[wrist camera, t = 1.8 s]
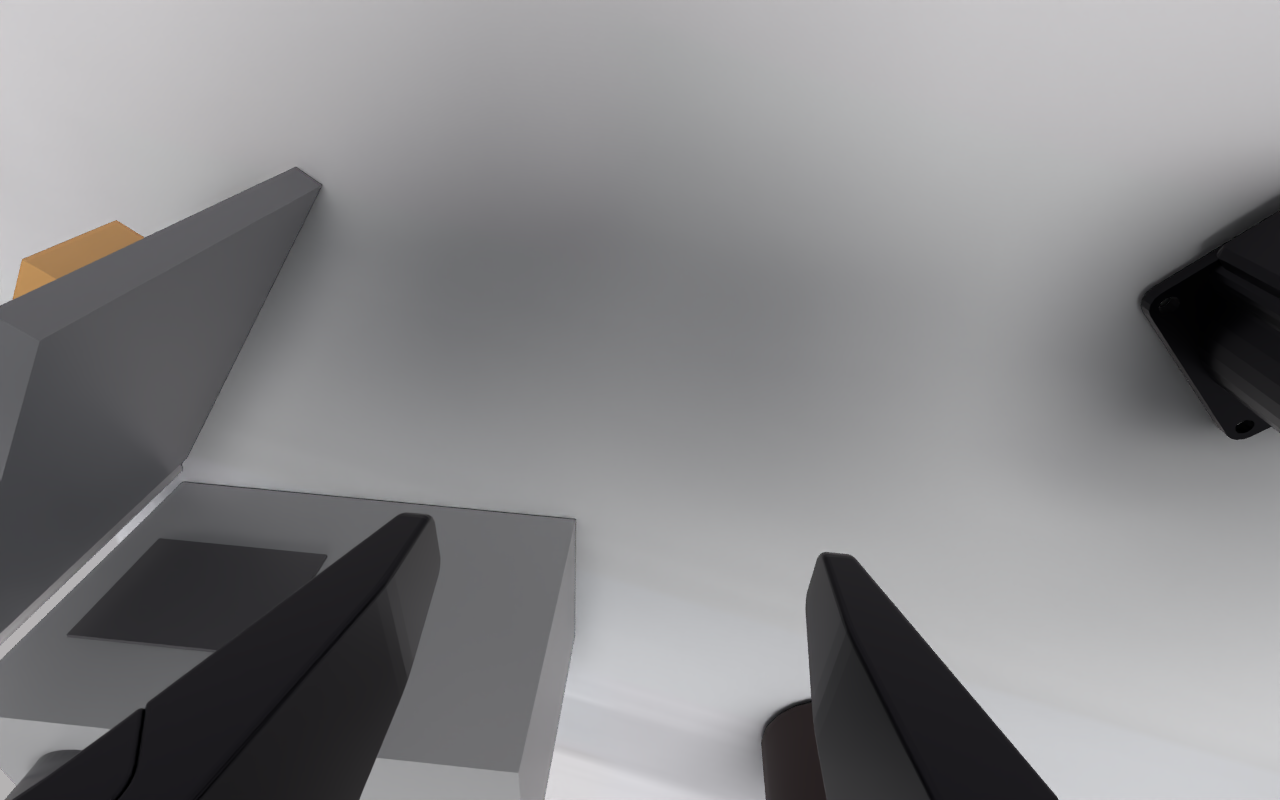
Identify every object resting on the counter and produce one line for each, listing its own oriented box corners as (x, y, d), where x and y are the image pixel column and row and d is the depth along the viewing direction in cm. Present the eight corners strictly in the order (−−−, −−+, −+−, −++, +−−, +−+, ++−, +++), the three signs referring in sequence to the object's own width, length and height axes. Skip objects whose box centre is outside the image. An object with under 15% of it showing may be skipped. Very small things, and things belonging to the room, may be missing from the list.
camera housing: (575, 517, 25) (506, 820, 16) (575, 635, 29) (519, 932, 20) (181, 479, 25) (-101, 753, 16) (233, 601, 29) (28, 875, 20)
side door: (178, 477, 25) (-60, 706, 17) (125, 449, 25) (-147, 674, 17) (323, 186, 19) (42, 342, 11) (255, 138, 18) (-97, 265, 10)
